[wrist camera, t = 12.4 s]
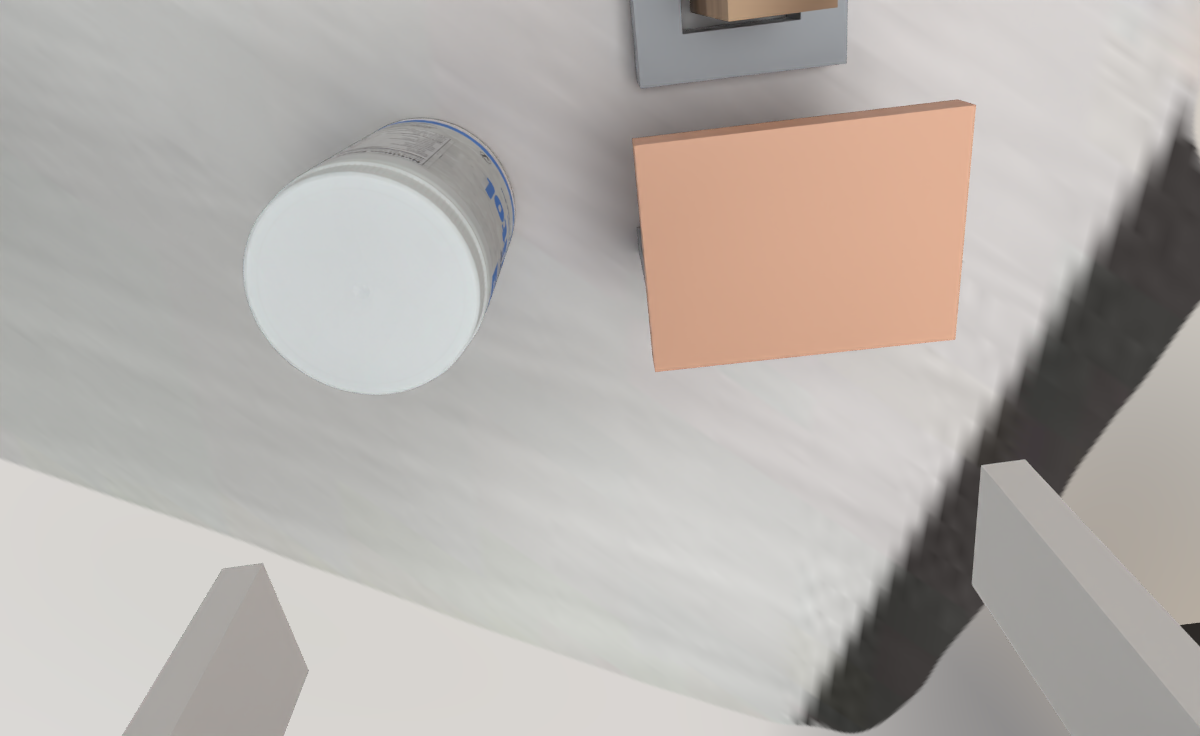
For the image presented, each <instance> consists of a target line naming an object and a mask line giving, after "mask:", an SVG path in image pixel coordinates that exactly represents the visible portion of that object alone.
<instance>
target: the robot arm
mask: <svg viewBox="0 0 1200 736" xmlns="http://www.w3.org/2000/svg"><path fill="white" fill-rule="evenodd" d="M972 585H973V587H974V589H975V590H976V592H977V593H978V595H979V596H980V598H981V599H982V601H983V602H984V604H985V605H986V607H987V608H988V610H989V611H990V613H991V615H992V616H993V618H994V619H995V621H996V622H997V624H998V625H999V627H1000V628H1001V630H1002V631H1003V633H1004V634H1005V636H1006V637H1007V639H1008V641H1009V642H1010V644H1011V645H1012V647H1013V648H1014V650H1015V651H1016V653H1017V654H1018V656H1019V657H1020V659H1021V660H1022V662H1023V663H1024V665H1025V667H1026V668H1027V670H1028V671H1029V672H1030V674H1031V676H1032V677H1033V679H1034V680H1035V682H1036V683H1037V685H1038V686H1039V688H1040V690H1041V691H1042V692H1043V694H1044V695H1045V697H1046V699H1047V700H1048V701H1049V703H1050V705H1051V706H1052V708H1053V709H1054V711H1055V712H1056V714H1057V715H1058V717H1059V718H1060V720H1061V722H1062V723H1063V725H1064V726H1065V728H1066V729H1067V731H1068V732H1069V734H1070V735H1071V736H1200V623H1193V624H1185V625H1179V624H1178V623H1177V622H1176V621H1175V620H1174V619H1173V618H1172V616H1171V615H1170V614H1169V613H1168V612H1167V611H1166V610H1165V609H1164V608H1163V607H1162V606H1161V605H1160V604H1159V602H1158V601H1157V600H1156V599H1155V598H1154V597H1153V596H1152V595H1151V594H1150V593H1149V592H1148V591H1147V590H1146V589H1145V588H1144V587H1143V585H1142V584H1141V583H1140V582H1139V581H1138V580H1137V579H1136V578H1135V577H1134V576H1133V575H1132V574H1131V573H1130V571H1129V570H1128V569H1127V568H1126V567H1125V566H1124V565H1123V564H1122V563H1121V562H1120V561H1119V560H1118V559H1117V558H1116V556H1115V555H1114V554H1113V553H1112V552H1111V551H1110V550H1109V549H1108V548H1107V547H1106V546H1105V545H1104V544H1103V543H1102V542H1101V540H1100V539H1099V538H1098V537H1097V536H1096V535H1095V534H1094V533H1093V532H1092V531H1091V530H1090V529H1089V528H1088V527H1087V526H1086V524H1085V523H1084V522H1083V521H1082V520H1081V519H1080V518H1079V517H1078V516H1077V515H1076V514H1075V513H1074V512H1073V510H1072V509H1071V508H1070V507H1069V506H1068V505H1067V504H1066V503H1065V502H1064V501H1063V500H1062V499H1061V498H1060V497H1059V495H1058V494H1057V493H1056V492H1055V491H1054V490H1053V489H1052V488H1051V487H1050V486H1049V485H1048V484H1047V483H1046V482H1045V480H1044V479H1043V478H1042V477H1041V476H1040V475H1039V474H1038V473H1037V472H1036V471H1035V470H1034V469H1033V468H1032V467H1031V466H1030V464H1029V463H1028V462H1027V461H1026V460H1017V461H1010V462H1003V463H995V464H988V465H981V475H980V488H979V500H978V513H977V526H976V538H975V551H974V564H973V576H972ZM308 671H309V670H308V668H307V666H306V663H305V661H304V658H303V656H302V654H301V651H300V649H299V647H298V645H297V642H296V640H295V638H294V635H293V633H292V630H291V628H290V626H289V623H288V621H287V619H286V616H285V614H284V612H283V610H282V607H281V605H280V602H279V600H278V598H277V595H276V593H275V591H274V588H273V586H272V584H271V581H270V579H269V577H268V574H267V572H266V570H265V567H264V565H263V563H261V564H254V565H246V566H239V567H232V568H224V569H222V570H221V572H220V574H219V575H218V577H217V579H216V580H215V582H214V584H213V586H212V587H211V589H210V590H209V592H208V594H207V595H206V597H205V599H204V600H203V602H202V604H201V605H200V607H199V609H198V610H197V612H196V614H195V615H194V617H193V619H192V620H191V622H190V624H189V625H188V627H187V629H186V630H185V632H184V634H183V635H182V637H181V639H180V640H179V642H178V644H177V645H176V647H175V649H174V650H173V652H172V654H171V655H170V657H169V659H168V660H167V662H166V664H165V665H164V667H163V669H162V670H161V672H160V673H159V675H158V677H157V679H156V680H155V682H154V684H153V685H152V687H151V689H150V690H149V692H148V694H147V695H146V697H145V698H144V700H143V702H142V703H141V705H140V707H139V708H138V710H137V712H136V713H135V715H134V717H133V718H132V720H131V722H130V723H129V725H128V727H127V728H126V730H125V732H124V733H123V735H122V736H284V733H285V731H286V728H287V726H288V723H289V720H290V718H291V715H292V713H293V710H294V707H295V705H296V702H297V700H298V697H299V694H300V692H301V689H302V687H303V684H304V682H305V679H306V677H307V674H308Z"/></svg>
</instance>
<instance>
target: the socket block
mask: <svg viewBox="0 0 1200 736" xmlns="http://www.w3.org/2000/svg"><path fill="white" fill-rule="evenodd" d="M630 5H631V16H632V28H633V39H634V50H635V61H636V73H637V82H638V84H639V86H640V88H649V87H657V86H665V85H673V84H681V83H690V82H698V81H706V80H714V79H722V78H731V77H739V76H747V75H755V74H763V73H772V72H780V71H788V70H796V69H804V68H813V67H821V66H829V65H837V64H845V63H847V14H848V0H838V7H837V8H830V9H822V10H814V11H807V12H799V13H791V14H786V18H778V19H770V20H762V21H754V22H746V23H738V24H730V25H722V26H714V27H706V28H698V29H690V30H682V18H681V2H680V0H630Z"/></svg>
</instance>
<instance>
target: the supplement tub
mask: <svg viewBox="0 0 1200 736" xmlns="http://www.w3.org/2000/svg"><path fill="white" fill-rule="evenodd" d="M514 223H515V203H514V197H513V193H512V189H511V186H510V183H509V180H508V178H507V176H506V174H505V171H504V169H503V167H502V166H501V164H500V162H499V161H498V159H497V158H496V157H495V155H494V154H493V153H492V151H491V150H490V149H489V148H488V147H487V146H486V145H485V144H484V143H483V142H481V141H480V140H479V139H478V138H477V137H475V136H474V135H472V134H471V133H469V132H468V131H466V130H464V129H462V128H460V127H458V126H455V125H453V124H451V123H447V122H444V121H440V120H435V119H428V118H415V119H406V120H401V121H397V122H394V123H391V124H389V125H387V126H385V127H383V128H381V129H379V130H377V131H375V132H374V133H372V134H370V135H369V136H367V137H365V138H363V139H362V140H360V141H358V142H356V143H355V144H353V145H351V146H349V147H348V148H346V149H344V150H342V151H341V152H339V153H337V154H336V155H334V156H332V157H331V158H329V159H327V160H325V161H323V162H322V163H320V164H318V165H317V166H315V167H313V168H312V169H310V170H308V171H307V172H305V173H303V174H302V175H300V176H298V177H297V178H295V179H294V180H292V181H291V182H290V183H289V184H287V185H286V186H285V187H284V188H283V189H282V190H280V192H279V193H278V194H277V195H276V196H275V197H274V198H273V199H272V200H271V202H270V203H269V204H268V205H267V206H266V207H265V208H264V210H263V211H262V212H261V214H260V215H259V217H258V218H257V220H256V221H255V223H254V225H253V227H252V230H251V232H250V234H249V237H248V240H247V243H246V247H245V253H244V259H243V279H244V287H245V291H246V296H247V300H248V303H249V306H250V309H251V312H252V314H253V316H254V318H255V320H256V322H257V324H258V326H259V328H260V329H261V331H262V333H263V334H264V336H265V337H266V338H267V340H268V341H269V343H270V344H271V345H272V346H273V347H274V348H275V350H276V351H277V352H278V353H279V354H280V355H281V356H282V357H283V358H284V359H286V360H287V361H288V362H289V363H290V364H291V365H293V366H294V367H295V368H297V369H298V370H300V371H301V372H303V373H304V374H306V375H307V376H309V377H311V378H313V379H315V380H316V381H318V382H320V383H323V384H325V385H328V386H330V387H333V388H336V389H339V390H343V391H347V392H352V393H358V394H366V395H384V394H394V393H400V392H404V391H408V390H411V389H414V388H417V387H419V386H421V385H424V384H426V383H428V382H430V381H432V380H433V379H435V378H436V377H438V376H439V375H441V374H442V373H444V372H445V371H446V370H447V369H449V368H450V367H451V366H452V365H453V364H454V363H455V361H456V360H457V359H458V358H459V357H460V356H461V354H462V353H463V352H464V350H465V349H466V347H467V346H468V345H469V343H470V342H471V341H472V339H473V338H474V336H475V334H476V333H477V331H478V329H479V327H480V325H481V323H482V320H483V318H484V315H485V313H486V310H487V308H488V305H489V302H490V299H491V296H492V294H493V290H494V288H495V285H496V282H497V279H498V276H499V273H500V270H501V267H502V264H503V262H504V259H505V256H506V253H507V250H508V247H509V244H510V240H511V237H512V233H513V229H514Z"/></svg>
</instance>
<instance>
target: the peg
mask: <svg viewBox="0 0 1200 736" xmlns="http://www.w3.org/2000/svg"><path fill="white" fill-rule="evenodd" d="M837 7H838V0H690V11H691V12H692V13H696V14H700V15H704V16H708V17H712V18H716V19H720V20H724V21H728V22H730V21H737V20H745V19H753V18H760V17H768V16H776V15H783V14H791V13H799V12H807V11H814V10H822V9H830V8H837Z"/></svg>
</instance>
